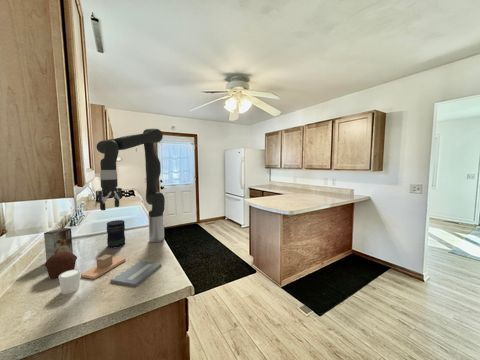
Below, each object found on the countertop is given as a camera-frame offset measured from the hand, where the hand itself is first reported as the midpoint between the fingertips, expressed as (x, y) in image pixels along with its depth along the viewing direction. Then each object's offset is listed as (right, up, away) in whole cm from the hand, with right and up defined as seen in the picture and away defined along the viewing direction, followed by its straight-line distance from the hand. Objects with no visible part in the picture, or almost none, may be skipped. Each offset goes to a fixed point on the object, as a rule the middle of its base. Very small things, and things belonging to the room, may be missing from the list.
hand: (110, 208), depth 106 cm
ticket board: (+21, -29, -12) cm, 38 cm away
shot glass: (0, -30, -24) cm, 39 cm away
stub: (+2, -29, -8) cm, 30 cm away
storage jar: (-9, -27, +21) cm, 35 cm away
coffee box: (-28, -28, +1) cm, 40 cm away
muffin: (-14, -29, -13) cm, 35 cm away
